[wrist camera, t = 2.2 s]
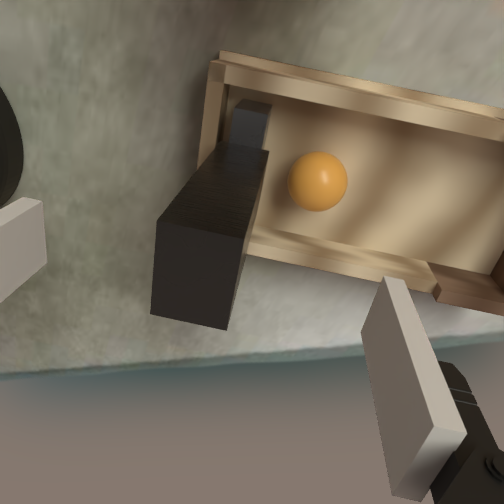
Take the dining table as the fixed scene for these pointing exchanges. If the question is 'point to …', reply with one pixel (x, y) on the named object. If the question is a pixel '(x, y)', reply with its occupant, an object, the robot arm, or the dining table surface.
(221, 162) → the block
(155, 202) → the dining table surface
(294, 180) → the ball
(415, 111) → the tray
